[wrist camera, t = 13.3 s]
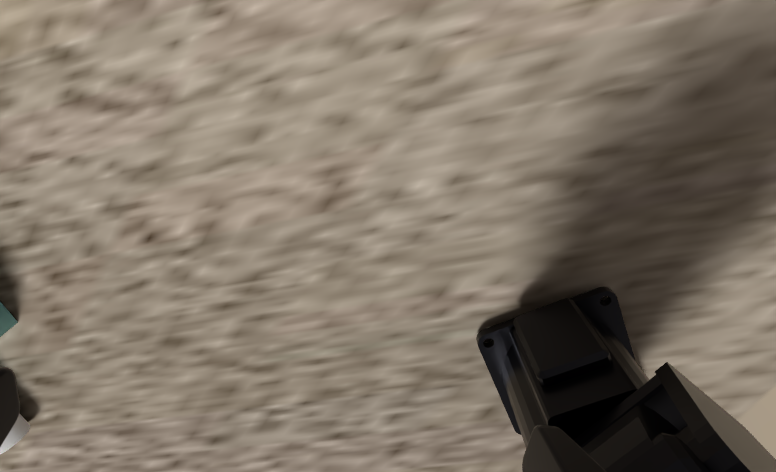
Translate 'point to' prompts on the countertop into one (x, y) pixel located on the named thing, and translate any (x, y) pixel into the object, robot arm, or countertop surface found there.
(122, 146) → the countertop surface
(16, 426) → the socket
